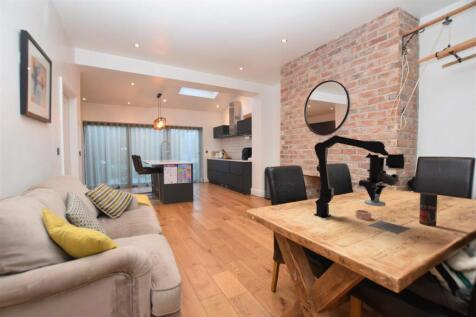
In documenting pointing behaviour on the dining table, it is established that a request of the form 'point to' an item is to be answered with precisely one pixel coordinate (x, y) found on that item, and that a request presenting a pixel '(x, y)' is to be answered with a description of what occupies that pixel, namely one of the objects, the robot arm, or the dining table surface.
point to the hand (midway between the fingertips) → (374, 200)
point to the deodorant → (428, 209)
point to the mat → (389, 227)
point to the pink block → (363, 214)
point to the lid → (375, 201)
